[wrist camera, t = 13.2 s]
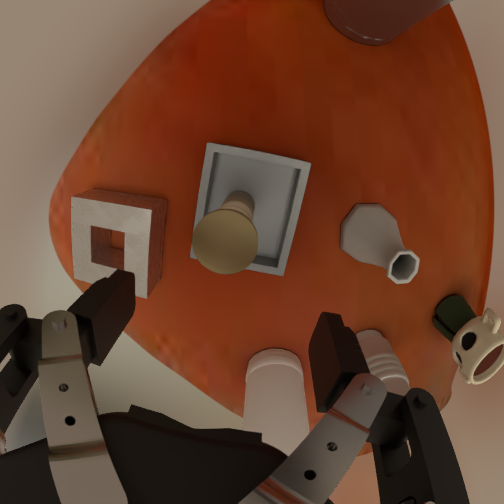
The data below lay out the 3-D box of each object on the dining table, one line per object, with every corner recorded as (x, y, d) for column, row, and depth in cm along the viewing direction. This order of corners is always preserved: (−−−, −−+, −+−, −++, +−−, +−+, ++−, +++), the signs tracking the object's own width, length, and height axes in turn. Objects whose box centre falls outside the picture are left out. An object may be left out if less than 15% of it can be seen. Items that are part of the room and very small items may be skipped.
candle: (332, 348, 37) (355, 436, 23) (371, 318, 35) (411, 401, 21) (358, 369, 39) (383, 448, 25) (394, 342, 37) (432, 418, 23)
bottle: (309, 373, 39) (332, 569, 11) (263, 390, 41) (257, 574, 13) (287, 338, 37) (301, 572, 9) (236, 358, 38) (210, 571, 11)
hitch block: (94, 188, 30) (71, 196, 26) (167, 199, 31) (151, 210, 26) (94, 262, 34) (74, 278, 29) (161, 278, 34) (147, 298, 30)
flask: (351, 193, 30) (386, 215, 20) (403, 213, 30) (448, 241, 21) (329, 252, 32) (353, 295, 23) (381, 267, 33) (415, 310, 23)
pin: (222, 181, 29) (196, 205, 18) (264, 189, 29) (264, 218, 18) (215, 221, 31) (188, 267, 19) (255, 229, 31) (251, 279, 20)
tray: (212, 142, 28) (207, 142, 25) (306, 161, 28) (311, 163, 26) (196, 247, 33) (189, 257, 30) (281, 264, 33) (283, 276, 30)
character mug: (439, 279, 33) (491, 332, 21) (473, 277, 32) (524, 323, 20) (420, 341, 37) (455, 400, 25) (453, 336, 36) (490, 387, 24)
